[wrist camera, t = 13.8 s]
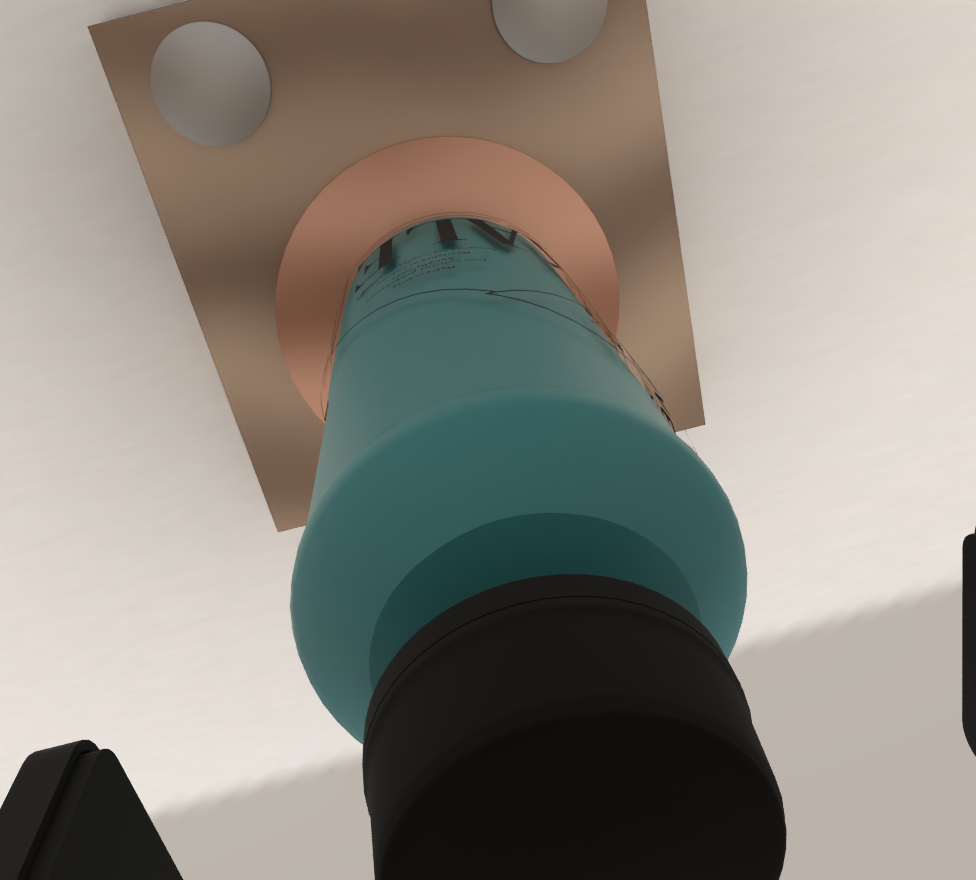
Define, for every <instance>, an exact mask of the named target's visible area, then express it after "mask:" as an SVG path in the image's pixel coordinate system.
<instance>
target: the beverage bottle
mask: <svg viewBox="0 0 976 880" xmlns="http://www.w3.org/2000/svg"><path fill="white" fill-rule="evenodd" d="M450 213H455V212H450ZM460 213H468V212H460ZM440 214H442V213H440ZM475 214H477V213H475ZM435 215H437V214H435ZM455 215H456V217H448V215H446V216H447V217H445V215H444V217H443V215H442V218H439V216H437V217H438V218H437V219H434V217H433V219H432V218H431V219H432V220H430V218H429V220H427V219H426V220H427V221H425V219H424V222H421V221H420V222H421V223H419V221H418V224H415V225H412V224H411V225H412V226H410V224H409V226H410V227H408V225H407V227H408V228H406V226H405V228H406V229H404V227H403V229H404V230H402V228H401V230H402V231H400V229H399V231H400V232H398V230H397V232H398V233H397V234H395V235H394V236H392V237H391V238H389V239H388V240H386V241H385V242H384V243H383V244H382V245H380V246H379V247H378V248H377V249H376V250H375V251H374V252H372V253H371V254H370V255H369V256H368V257H367V258H368V259H367V258H366V259H367V260H365V261H364V262H363V263H364V264H363V263H362V264H361V265H360V266H359V268H358V273H357V275H356V277H355V279H354V281H353V283H352V285H351V288H350V291H349V293H348V296H347V299H346V304H345V308H344V313H343V318H342V323H341V329H340V334H339V339H338V343H336V347H337V348H336V347H335V348H336V353H335V351H333V348H332V346H333V347H334V343H332V344H331V348H332V353H333V352H334V354H335V358H334V363H333V368H332V373H331V379H330V386H329V393H328V402H327V408H326V414H325V418H324V420H325V421H326V422H325V428H324V433H323V439H322V444H321V450H320V455H319V461H318V466H317V472H316V477H315V483H314V488H313V494H312V499H311V505H310V510H309V516H308V521H307V525H306V528H305V530H304V533H303V536H302V539H301V541H300V544H299V547H298V551H297V556H296V560H295V565H294V570H293V575H292V584H291V602H290V609H291V619H292V629H293V634H294V638H295V642H296V646H297V650H298V654H299V657H300V659H301V662H302V664H303V666H304V669H305V671H306V674H307V676H308V678H309V680H310V683H311V684H312V686H313V688H314V689H315V691H316V693H317V695H318V696H319V698H320V700H321V701H322V703H323V704H324V706H325V707H326V708H327V709H328V711H329V712H330V713H331V714H332V715H333V717H334V718H335V719H336V720H337V722H338V723H339V724H340V725H341V726H342V727H343V728H345V729H346V730H347V731H348V732H349V733H350V734H351V735H352V736H353V737H354V738H355V739H356V740H357V741H359V742H360V743H361V744H363V765H362V766H363V781H364V782H363V783H364V794H365V798H366V803H367V807H368V811H369V815H370V818H371V831H372V845H373V859H374V873H375V880H779V877H780V875H781V871H782V868H783V863H784V858H785V852H786V824H785V815H784V808H783V802H782V796H781V793H780V791H779V787H778V785H777V782H776V779H775V776H774V774H773V772H772V769H771V767H770V765H769V762H768V760H767V758H766V755H765V753H764V750H763V748H762V746H761V743H760V741H759V739H758V736H757V734H756V731H755V729H754V727H753V724H752V720H751V713H750V709H749V706H748V703H747V700H746V697H745V694H744V691H743V689H742V687H741V684H740V682H739V680H738V679H737V677H736V675H735V673H734V671H733V669H732V667H731V666H730V664H729V662H728V658H729V656H730V654H731V651H732V649H733V647H734V645H735V642H736V639H737V636H738V633H739V630H740V627H741V623H742V620H743V614H744V608H745V603H746V596H747V567H746V558H745V549H744V543H743V539H742V536H741V532H740V528H739V524H738V520H737V518H736V516H735V513H734V511H733V509H732V506H731V504H730V502H729V499H728V497H727V495H726V494H725V492H724V491H723V489H722V487H721V486H720V484H719V483H718V481H717V479H716V478H715V476H714V475H713V473H712V472H711V471H710V469H709V468H708V467H707V466H706V465H705V463H704V462H703V461H702V460H701V459H700V458H699V456H698V455H697V452H696V453H695V452H694V451H693V449H692V448H691V447H689V446H688V445H687V444H686V443H685V442H684V441H683V440H681V439H680V438H679V437H678V436H677V435H676V433H675V430H674V426H673V424H672V421H671V419H670V418H669V416H670V415H669V416H668V415H667V414H666V413H665V411H664V409H663V408H662V407H661V406H660V408H661V411H660V410H659V407H657V406H658V404H657V405H656V404H655V402H654V401H653V400H652V399H654V398H653V396H650V395H649V394H648V393H649V392H648V393H647V390H648V389H649V388H650V387H649V388H648V387H647V385H646V387H647V390H645V389H644V388H643V386H642V385H641V384H640V382H639V381H638V380H637V378H636V377H635V376H634V374H633V373H632V372H631V370H630V369H629V368H628V365H626V364H627V363H626V364H625V362H624V361H623V360H622V358H621V357H620V356H619V353H618V351H619V350H618V349H617V348H615V347H616V345H617V344H618V345H617V346H618V347H619V349H620V350H621V351H622V354H623V352H624V351H623V349H622V347H621V346H620V344H619V343H620V342H618V341H619V340H618V341H617V340H616V339H617V338H616V337H615V335H614V338H615V340H616V341H617V342H618V343H617V342H616V343H617V344H616V343H615V342H614V340H613V339H612V337H610V335H611V334H610V335H608V334H609V333H610V330H609V329H610V328H609V327H608V328H609V329H608V328H606V325H605V326H604V325H603V324H605V323H603V324H602V326H604V327H605V328H606V329H607V331H608V332H609V333H608V332H607V331H606V329H605V328H604V329H603V330H605V331H606V332H607V333H606V332H604V333H606V334H607V336H608V337H610V338H611V339H612V340H611V342H612V341H613V342H614V344H615V347H614V346H612V345H614V344H612V345H611V342H609V341H608V340H607V338H606V337H605V336H606V335H605V336H604V334H603V333H602V332H601V330H600V329H599V328H598V325H599V324H600V323H599V322H597V320H596V319H595V318H594V317H595V316H594V315H592V314H591V312H592V311H591V312H590V309H589V307H584V306H582V305H581V304H580V302H579V301H578V300H577V298H576V297H575V295H574V294H573V293H574V292H573V293H572V291H571V290H570V289H571V288H570V289H569V288H568V286H567V285H566V284H565V282H564V281H563V280H562V278H561V277H560V276H559V274H558V273H557V272H556V270H555V269H554V268H553V266H554V267H557V268H559V269H561V268H562V267H561V266H559V265H558V264H557V263H558V262H557V261H556V262H557V263H556V262H555V261H554V260H553V259H552V258H551V257H550V256H549V255H548V254H547V253H546V252H545V251H544V250H543V249H542V248H541V247H540V245H539V244H538V243H536V242H535V241H533V240H532V239H533V238H532V239H530V238H528V237H527V236H526V237H527V238H528V239H529V240H531V241H532V242H533V243H534V244H535V245H536V246H538V247H539V248H540V249H541V250H542V251H543V252H544V253H545V254H546V255H547V256H548V257H549V258H550V259H551V260H552V261H553V262H554V263H555V264H556V265H555V264H552V263H550V262H549V261H548V260H547V258H546V257H545V256H544V255H543V254H542V253H541V252H540V251H539V250H538V249H537V248H536V247H535V246H534V245H533V244H532V243H530V242H529V241H528V240H527V239H525V238H524V237H522V236H521V235H519V234H517V233H520V232H517V231H515V230H513V229H511V228H510V229H511V230H510V229H508V228H509V227H508V228H506V226H505V227H504V226H502V225H499V224H496V223H493V222H490V221H487V220H483V219H478V218H473V217H458V216H459V214H458V216H457V214H455ZM480 215H482V214H480ZM430 216H432V215H430ZM449 216H450V215H449ZM451 216H452V215H451ZM460 216H462V215H461V214H460ZM463 216H464V215H463ZM465 216H466V215H465ZM467 216H468V215H467ZM469 216H470V215H469ZM472 216H473V215H472ZM485 216H487V215H485ZM425 217H427V216H425ZM440 217H441V216H440ZM474 217H475V215H474ZM476 217H477V216H476ZM478 217H479V216H478ZM480 217H481V216H480ZM490 217H491V216H490ZM422 218H424V217H422ZM435 218H436V217H435ZM481 218H482V217H481ZM483 218H484V217H483ZM493 218H494V217H493ZM419 219H421V218H419ZM485 219H486V217H485ZM487 219H488V218H487ZM489 219H490V218H489ZM496 219H497V218H496ZM416 220H418V219H416ZM490 220H491V219H490ZM492 220H493V219H492ZM499 220H500V219H499ZM413 221H415V220H413ZM422 221H423V220H422ZM494 221H495V220H494ZM496 221H497V220H496ZM502 221H503V220H502ZM410 222H412V221H410ZM498 222H499V221H498ZM408 223H409V222H408ZM507 223H508V222H507ZM406 224H407V223H406ZM413 224H414V223H413ZM509 224H510V223H509ZM404 225H405V224H404ZM507 225H508V224H507ZM511 225H512V224H511ZM402 226H403V225H402ZM508 226H510V225H508ZM513 226H514V225H513ZM400 227H401V226H400ZM510 227H511V226H510ZM515 227H516V226H515ZM398 228H399V227H398ZM396 229H397V228H396ZM515 229H517V228H515ZM519 229H520V228H519ZM519 229H518V230H519ZM394 230H395V229H394ZM394 230H393V231H394ZM519 231H520V230H519ZM391 232H392V231H391ZM524 232H525V231H524ZM524 232H523V233H524ZM395 233H396V231H395ZM388 234H389V233H388ZM393 234H394V233H393ZM521 234H522V233H521ZM524 234H525V233H524ZM524 234H523V235H524ZM527 234H528V233H527ZM527 234H526V235H527ZM391 235H392V234H391ZM385 236H386V235H385ZM524 236H525V235H524ZM389 237H390V235H389ZM529 237H530V236H529ZM382 238H383V237H382ZM382 238H381V239H382ZM387 238H388V237H387ZM385 239H386V238H385ZM534 239H535V238H534ZM383 241H384V239H383ZM376 243H377V242H376ZM376 243H375V244H376ZM380 243H381V242H380ZM375 244H374V245H375ZM540 244H541V243H540ZM374 245H373V246H374ZM378 245H379V243H378ZM373 249H374V248H373ZM370 251H372V249H371V250H370ZM547 251H548V250H547ZM366 253H367V252H366ZM366 253H365V254H366ZM365 254H364V255H365ZM368 254H369V252H368ZM364 255H363V256H364ZM365 257H366V256H365ZM552 257H553V256H552ZM362 260H363V259H362ZM359 261H360V260H359ZM357 264H358V263H357ZM359 264H360V262H359ZM552 265H553V266H552ZM355 267H356V266H355ZM561 270H562V269H561ZM559 271H560V270H559ZM562 271H564V270H562ZM560 272H561V271H560ZM564 272H565V271H564ZM564 272H563V273H564ZM565 274H566V272H565ZM565 274H564V275H565ZM567 276H568V275H567ZM567 276H565V277H567ZM568 277H569V276H568ZM569 278H570V277H569ZM348 279H349V278H348ZM566 279H568V278H566ZM570 280H571V279H570ZM567 281H568V280H567ZM571 281H572V280H571ZM347 283H348V280H347ZM568 283H570V282H569V281H568ZM572 283H573V281H572ZM570 284H571V283H570ZM345 285H346V287H347V284H345ZM574 285H575V284H574ZM569 286H570V285H569ZM575 286H576V285H575ZM344 287H345V286H344ZM571 287H572V286H571ZM576 287H577V286H576ZM573 288H574V287H573ZM574 289H575V288H574ZM576 289H577V291H578V292H579V291H580V290H579V289H578V288H576ZM343 290H344V289H343ZM345 292H346V289H345ZM580 292H581V291H580ZM342 293H343V292H342ZM581 294H582V293H581ZM579 296H580V294H579ZM582 296H584V295H583V294H582ZM344 297H345V293H344ZM581 298H582V297H581ZM341 299H342V298H341ZM343 301H344V298H343ZM581 301H582V300H581ZM587 301H588V300H587ZM340 302H341V301H340ZM584 303H585V301H584ZM585 305H586V303H585ZM590 305H591V304H590ZM340 306H343V302H342V305H340ZM583 307H584V308H585V309H588V310H589V311H588V310H585V309H584V308H583ZM340 308H341V310H342V307H340ZM339 310H340V309H339ZM594 310H595V309H594ZM337 311H338V310H337ZM338 312H339V311H338ZM338 312H337V313H338ZM588 312H590V313H588ZM592 313H593V312H592ZM593 314H594V313H593ZM596 314H597V312H596ZM340 315H341V312H340ZM589 315H591V316H592V317H593V316H594V317H593V318H594V319H595V320H596V321H595V322H596V323H597V324H598V323H599V324H598V325H596V324H595V322H594V321H593V320H594V319H593V320H592V318H591V316H589ZM336 316H338V314H337V315H336ZM596 316H597V315H596ZM598 316H599V315H598ZM598 316H597V317H598ZM336 319H337V317H336ZM336 319H335V324H334V325H336ZM339 319H340V316H339ZM599 319H600V318H599ZM599 321H600V320H599ZM600 322H601V323H602V322H603V321H600ZM338 324H339V321H338ZM599 326H600V325H599ZM334 329H335V326H334ZM337 329H338V325H337ZM336 333H337V330H336ZM611 333H612V334H613V332H611ZM333 335H334V333H333ZM333 335H332V336H333ZM335 338H336V334H335ZM332 339H333V337H332ZM332 341H333V340H332ZM330 342H331V341H330ZM334 342H335V339H334ZM621 345H622V344H621ZM613 347H614V348H615V349H616V350H615V349H614V348H613ZM623 348H624V347H623ZM334 350H335V349H334ZM617 350H618V351H617ZM625 350H626V349H625ZM616 351H617V352H616ZM619 352H620V351H619ZM626 352H627V350H626ZM328 353H329V352H328ZM332 353H330V354H331V355H332ZM620 353H621V352H620ZM627 353H628V352H627ZM628 354H629V353H628ZM623 355H624V354H623ZM327 356H328V355H327ZM624 356H625V355H624ZM629 356H630V358H631V355H630V354H629ZM330 357H331V356H330ZM625 357H626V356H625ZM625 357H624V359H625ZM626 358H627V357H626ZM329 359H330V358H329ZM627 359H628V358H627ZM632 359H633V358H632ZM326 360H327V363H328V361H329V360H328V359H326ZM628 360H629V359H628ZM331 361H332V357H331ZM331 361H330V363H331ZM625 361H626V360H625ZM629 361H630V360H629ZM632 361H633V363H634V362H635V361H634V359H633V360H632ZM630 362H631V361H630ZM631 363H632V362H631ZM633 363H632V364H633ZM635 363H636V362H635ZM636 364H637V363H636ZM636 364H633V365H634V366H635V365H636ZM328 365H329V364H327V365H326V366H328ZM637 365H638V364H637ZM328 367H329V366H328ZM635 367H636V366H635ZM638 367H639V365H638ZM638 367H637V368H638ZM637 368H636V369H637ZM327 369H328V368H327ZM325 370H326V367H325ZM325 370H324V372H325ZM641 370H642V369H641ZM641 370H639V371H641ZM637 371H638V370H637ZM641 372H642V373H643V374H644V375H646V374H645V373H644V372H643V371H641ZM641 372H640V373H641ZM638 373H639V372H638ZM640 373H639V374H640ZM642 373H641V374H642ZM323 375H324V374H323ZM640 376H641V375H640ZM642 376H643V375H642ZM323 377H324V376H323ZM641 378H642V377H641ZM643 378H644V377H643ZM646 378H647V376H646ZM644 379H645V378H644ZM647 379H648V381H649V382H651V381H650V380H649V378H647ZM642 380H643V379H642ZM645 381H646V380H645ZM643 382H644V381H643ZM646 383H647V382H646ZM646 383H644V385H645V384H646ZM651 383H652V382H651ZM647 384H648V383H647ZM651 385H652V384H651ZM648 386H649V385H648ZM652 386H654V385H652ZM646 387H645V388H646ZM654 387H655V386H654ZM655 388H656V387H655ZM655 388H654V389H655ZM650 389H651V388H650ZM323 390H324V388H323ZM655 390H656V389H655ZM649 391H650V390H649ZM651 391H652V390H651ZM653 391H654V390H653ZM656 391H657V390H656ZM658 392H659V391H658ZM658 392H657V393H658ZM650 393H651V392H650ZM652 393H653V392H652ZM654 393H655V395H656V396H657V398H658V399H659V401H660V400H661V401H662V402H663V399H662V398H661V397H660V396H659V395H658V394H659V393H660V392H659V393H658V394H657V393H656V392H655V391H654ZM654 393H653V394H654ZM660 394H661V393H660ZM651 395H652V394H651ZM655 395H654V396H655ZM655 399H656V398H655ZM661 401H660V402H661ZM662 402H661V404H662ZM656 403H657V401H656ZM663 403H664V402H663ZM662 405H663V404H662ZM668 405H669V404H668ZM321 407H322V405H321ZM663 407H664V405H663ZM664 408H665V407H664ZM670 408H671V407H670ZM327 409H328V411H327ZM665 410H666V408H665ZM666 411H667V410H666ZM672 411H673V410H672ZM322 412H323V410H322ZM661 412H662V413H661ZM663 412H664V414H665V415H666V417H667V420H668V422H667V420H666V419H665V417H664V415H663ZM667 413H668V411H667ZM668 414H669V413H668ZM674 414H675V413H674ZM326 416H327V417H326ZM323 417H324V414H323ZM676 417H677V416H676ZM669 420H670V422H671V424H672V427H673V429H672V427H671V426H670V423H669ZM678 420H679V419H678ZM680 423H681V422H680ZM682 426H683V425H682ZM683 428H684V427H683ZM684 430H685V429H684ZM695 451H696V450H695Z"/></svg>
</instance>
